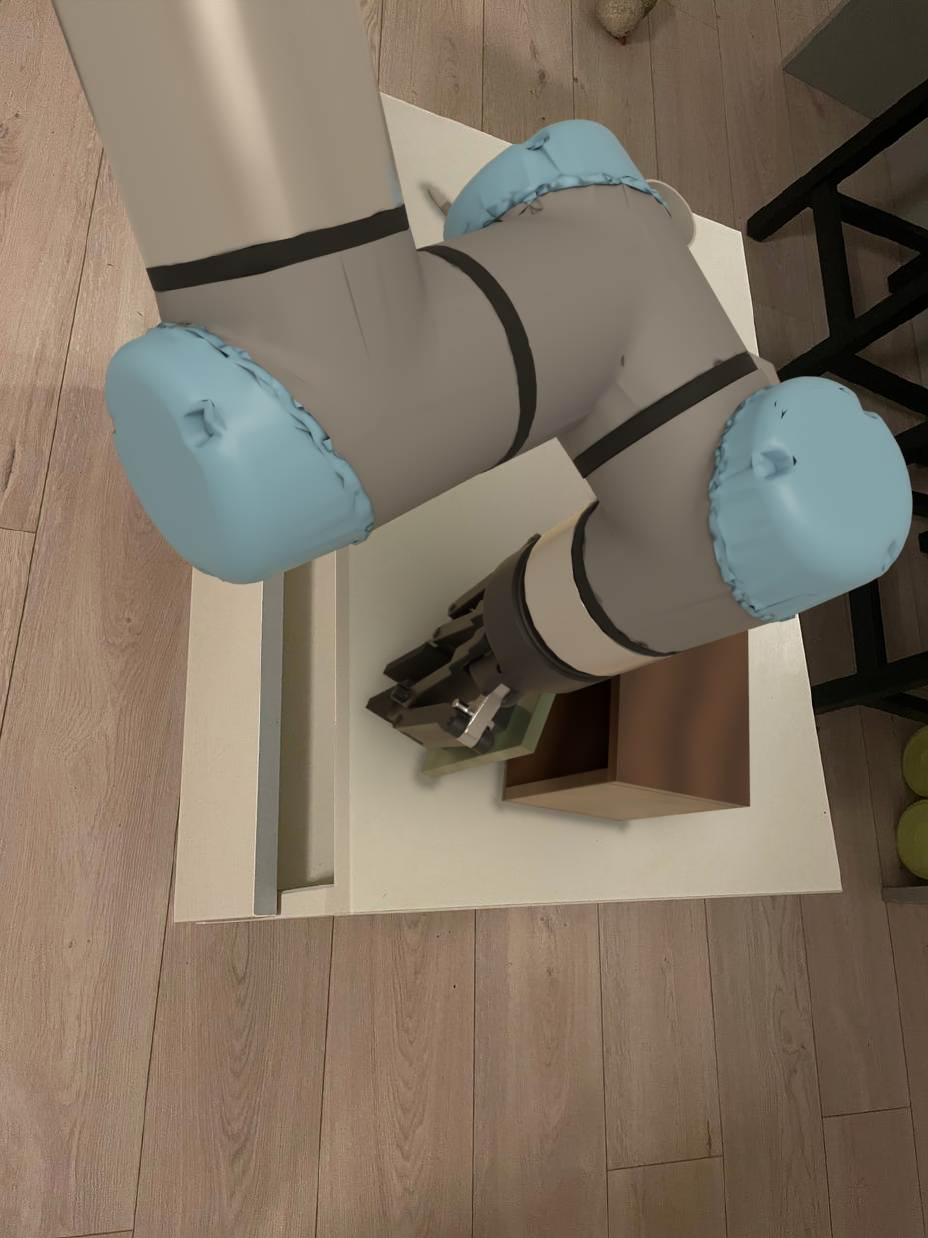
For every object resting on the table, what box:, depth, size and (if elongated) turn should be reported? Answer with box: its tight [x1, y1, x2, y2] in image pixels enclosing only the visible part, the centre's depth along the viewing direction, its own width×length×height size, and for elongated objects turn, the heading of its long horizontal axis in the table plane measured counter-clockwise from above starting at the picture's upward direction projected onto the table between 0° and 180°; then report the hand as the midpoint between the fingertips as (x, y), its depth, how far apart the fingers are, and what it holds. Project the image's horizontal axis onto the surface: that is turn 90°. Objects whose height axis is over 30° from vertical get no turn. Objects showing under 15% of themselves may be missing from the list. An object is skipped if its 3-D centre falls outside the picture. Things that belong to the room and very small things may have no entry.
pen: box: [427, 186, 452, 217], centre depth 83 cm, size 1×14×1 cm, turn 50°
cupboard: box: [501, 630, 751, 822], centre depth 69 cm, size 11×18×15 cm, turn 174°
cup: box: [645, 178, 697, 249], centre depth 87 cm, size 7×10×9 cm
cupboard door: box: [415, 675, 556, 779], centre depth 65 cm, size 6×18×15 cm, turn 156°
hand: (392, 695), depth 63 cm, fingers closed on cupboard door, 2 cm apart
